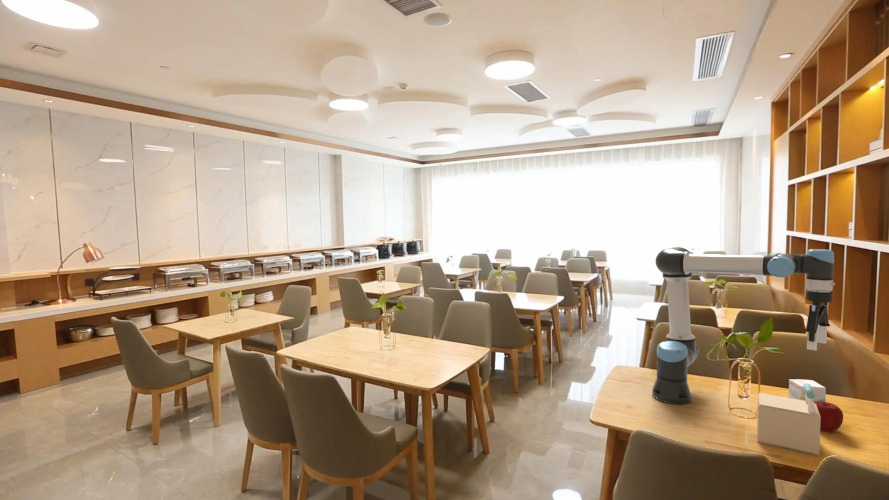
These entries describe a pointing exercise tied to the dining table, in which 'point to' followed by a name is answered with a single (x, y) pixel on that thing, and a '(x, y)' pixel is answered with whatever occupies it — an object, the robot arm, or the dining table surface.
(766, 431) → the carton
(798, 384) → the ink box
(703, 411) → the dining table surface
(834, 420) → the apple
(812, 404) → the flap
